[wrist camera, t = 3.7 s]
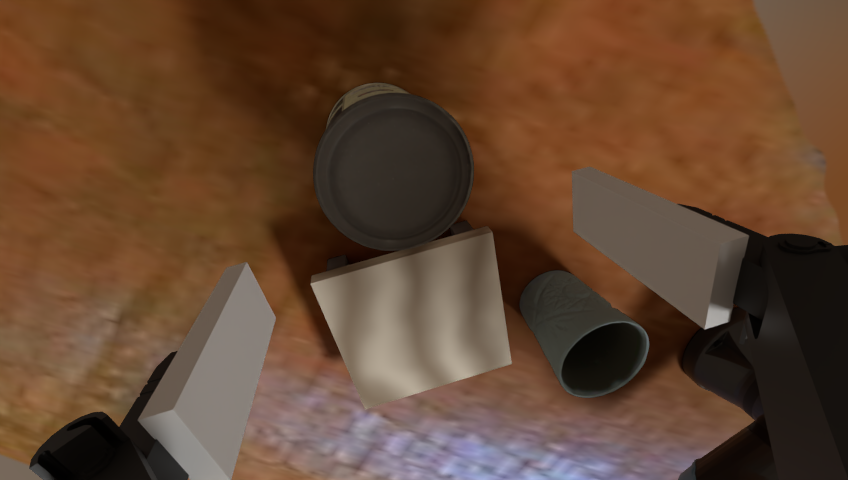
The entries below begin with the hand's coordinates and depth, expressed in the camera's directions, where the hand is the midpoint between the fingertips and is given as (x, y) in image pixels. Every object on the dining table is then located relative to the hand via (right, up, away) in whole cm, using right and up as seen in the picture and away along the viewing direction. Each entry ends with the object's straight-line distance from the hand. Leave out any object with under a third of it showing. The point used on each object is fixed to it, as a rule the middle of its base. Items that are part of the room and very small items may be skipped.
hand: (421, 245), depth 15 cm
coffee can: (-4, +10, +21) cm, 24 cm away
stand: (-1, -7, +30) cm, 31 cm away
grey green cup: (+17, -7, +34) cm, 38 cm away
